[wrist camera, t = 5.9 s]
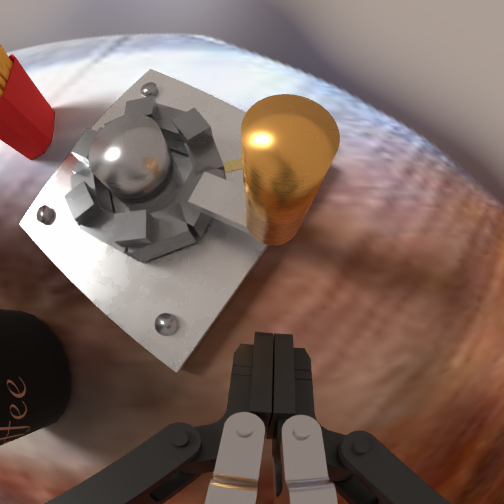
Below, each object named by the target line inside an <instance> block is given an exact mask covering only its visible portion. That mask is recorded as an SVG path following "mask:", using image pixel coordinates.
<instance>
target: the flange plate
mask: <svg viewBox="0 0 504 504" xmlns="http://www.w3.org/2000/svg"><path fill="white" fill-rule="evenodd" d="M150 96H154V98H155V100H156V103H158V104H161V105H165V106H168V107H172V108H175V109H179V110H182V111H185V112H187V111H189V110H191V109H192V108H194V107H195V108H196V110H197V111H198V112H199V113H200V114H201V115H202V117H203V118H204V119H205V120H206V121H207V123H208V124H209V125H210V126H211V130H212V135H213V139H214V141H215V144H216V147H217V149H218V152H219V154H220V157H221V160H222V162H223V165H224V170H225V175H226V180H227V181H230V182H232V183H235V184H237V185H239V186H242V187H244V182H243V164H242V146H241V124H242V120H243V118H244V116H245V114H246V112H244V111H242V110H240V109H238V108H236V107H234V106H232V105H230V104H228V103H226V102H224V101H222V100H220V99H218V98H215V97H213V96H211V95H209V94H207V93H205V92H203V91H201V90H198V89H196V88H194V87H192V86H190V85H187V84H185V83H183V82H180V81H178V80H176V79H174V78H171V77H169V76H166V75H164V74H162V73H159V72H157V71H154V70H152V69H150V70H149V71H148V72H147V73H145V74H144V75H143V76H142V77H141V78H140V79H139V80H138V81H137V82H136V83H135V84H133V85H132V86H131V87H130V88H129V89H128V90H127V91H126V92H125V93H124V94H123V95H122V96H121V97H120V98H119V99H118V100H117V101H116V102H115V103H114V104H113V105H112V106H111V107H110V108H109V109H108V110H107V111H106V112H105V113H104V115H103V116H102V117H101V118H100V119H99V120H98V121H97V122H96V123H95V124H94V125H93V126H92V128H91V129H92V130H95V131H98V130H99V128H100V127H102V128H103V129H102V130H101V131H100V132H99V133H98V134H97V136H96V137H95V139H94V141H93V142H92V145H91V147H90V151H89V166H90V169H91V171H92V172H93V174H94V175H95V176H96V177H97V178H98V179H99V180H100V181H101V182H102V183H103V184H104V185H105V186H106V187H107V188H108V189H109V194H110V199H111V204H112V209H113V214H116V213H124V212H131V211H139V210H147V211H148V212H149V213H150V214H151V213H154V212H157V211H159V210H162V209H164V208H167V207H170V206H172V204H173V202H174V200H175V198H176V197H177V195H178V193H179V191H180V190H181V188H182V186H183V184H184V183H185V181H186V179H187V177H188V176H189V174H190V172H191V171H192V169H193V167H192V164H191V161H190V158H189V155H188V154H185V153H182V152H179V151H177V150H174V149H171V148H169V147H168V145H167V143H166V141H165V138H164V136H163V134H162V132H161V129H160V127H159V125H158V124H157V123H156V122H155V121H154V120H153V119H152V118H150V117H148V116H145V115H141V114H131V115H126V116H123V115H124V113H125V107H126V101H130V100H135V99H140V98H145V97H150ZM121 116H122V117H121ZM118 117H120V118H118ZM116 118H117V119H116ZM114 119H115V120H114ZM112 120H113V121H112ZM109 121H112V122H110V123H109V124H107V125H106V126H104V124H105V123H107V122H109ZM77 161H78V159H77V158H76V157H75V156H74V155H73V154H72V152H70V153H69V155H68V156H67V157H66V158H65V160H64V161H63V162H62V164H61V165H60V166H59V167H58V169H57V170H56V171H55V173H54V174H53V175H52V177H51V178H50V179H49V181H48V182H47V184H46V185H45V186H44V188H43V189H42V191H41V192H40V193H39V195H38V196H37V198H36V199H35V201H34V202H33V204H32V205H31V207H30V208H29V210H28V211H27V213H26V214H25V216H24V218H23V219H22V221H21V222H20V225H21V226H22V228H23V229H24V230H25V231H26V232H27V234H28V235H29V236H30V237H31V238H32V239H33V241H34V242H35V243H36V244H37V245H38V246H39V247H40V249H41V250H42V251H43V252H44V253H45V254H46V255H47V256H48V257H49V258H50V260H51V261H52V262H53V263H54V264H55V265H56V266H57V267H58V268H59V269H60V270H61V271H62V272H63V273H64V274H65V275H66V276H67V277H68V279H69V280H70V281H71V282H72V283H73V284H74V285H75V286H76V287H77V288H78V289H79V290H80V291H81V292H83V293H84V294H85V295H86V296H87V297H88V298H89V299H90V300H91V301H92V302H93V303H94V304H95V305H96V306H97V307H98V308H99V309H100V310H101V311H103V312H104V313H105V314H106V315H107V316H108V317H109V318H110V319H111V320H112V321H114V322H115V323H116V324H117V325H118V326H119V327H120V328H122V329H123V330H124V331H125V332H126V333H127V334H129V335H130V336H131V337H132V338H133V339H134V340H136V341H137V342H138V343H139V344H140V345H142V346H143V347H144V348H145V349H147V350H148V351H149V352H150V353H151V354H153V355H154V356H155V357H157V358H158V359H159V360H160V361H162V362H163V363H164V364H165V365H167V366H168V367H169V368H171V369H172V370H173V371H175V372H176V373H177V372H178V371H180V370H181V369H182V367H183V366H184V365H185V363H186V362H187V360H188V359H189V358H190V356H191V355H192V353H193V352H194V351H195V349H196V348H197V346H198V345H199V344H200V342H201V341H202V340H203V338H204V337H205V335H206V334H207V333H208V331H209V330H210V328H211V327H212V326H213V324H214V323H215V321H216V320H217V318H218V317H219V316H220V314H221V313H222V311H223V310H224V309H225V307H226V306H227V304H228V303H229V302H230V300H231V299H232V297H233V296H234V295H235V293H236V292H237V290H238V289H239V288H240V286H241V285H242V283H243V282H244V280H245V279H246V278H247V276H248V275H249V273H250V272H251V271H252V269H253V268H254V266H255V265H256V263H257V262H258V261H259V259H260V258H261V256H262V255H263V253H264V252H265V251H266V249H267V248H268V246H269V245H266V244H263V243H261V242H259V241H257V240H256V239H255V238H254V237H253V236H252V235H251V234H249V233H246V232H244V231H242V230H240V229H237V228H235V227H233V226H231V225H228V224H226V223H224V222H222V221H219V220H217V219H215V218H213V217H212V218H211V220H210V222H209V224H208V226H207V228H206V230H205V232H204V234H203V236H202V237H201V238H199V237H197V236H195V238H196V241H197V242H196V243H193V244H190V245H188V246H185V247H182V248H179V249H177V250H174V251H171V252H169V253H166V254H163V255H160V256H158V257H155V258H152V259H150V260H147V261H144V262H143V261H142V260H139V261H137V260H135V259H133V258H131V257H129V256H127V255H126V254H124V253H122V252H120V251H118V250H116V249H115V248H113V247H111V246H109V245H107V244H105V243H104V242H102V241H100V240H98V239H96V238H95V237H93V236H91V235H90V234H88V233H86V232H84V231H83V230H81V229H79V227H80V226H79V225H77V224H76V221H75V220H74V219H73V217H72V215H71V212H70V210H69V207H68V205H67V202H66V200H65V197H64V196H65V195H66V194H67V193H68V192H69V191H71V190H72V187H71V177H70V176H71V175H73V174H74V173H73V172H72V169H73V168H74V166H75V164H76V163H77Z"/></svg>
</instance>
